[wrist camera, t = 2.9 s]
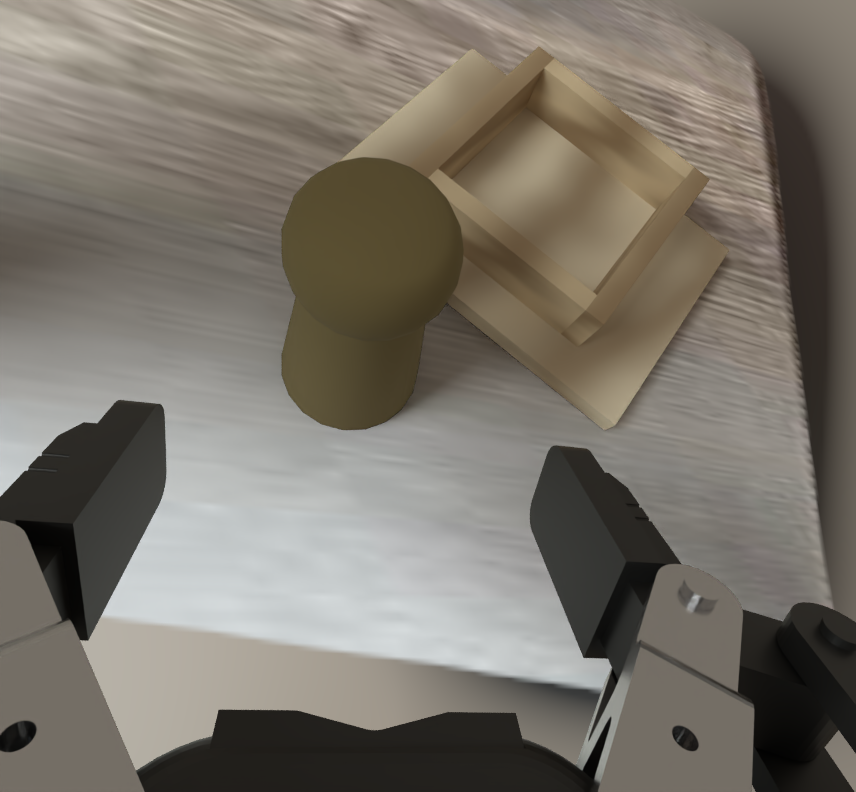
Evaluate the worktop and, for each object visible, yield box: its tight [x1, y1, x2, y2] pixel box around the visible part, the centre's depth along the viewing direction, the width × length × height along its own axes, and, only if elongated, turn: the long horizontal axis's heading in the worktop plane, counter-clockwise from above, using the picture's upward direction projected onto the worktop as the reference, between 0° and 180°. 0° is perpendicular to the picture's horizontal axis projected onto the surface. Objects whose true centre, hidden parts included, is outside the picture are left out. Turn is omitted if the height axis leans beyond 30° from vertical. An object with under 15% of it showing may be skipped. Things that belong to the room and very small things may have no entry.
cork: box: [282, 157, 464, 430], centre depth 19 cm, size 6×6×11 cm
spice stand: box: [338, 47, 729, 430], centre depth 27 cm, size 18×13×4 cm
